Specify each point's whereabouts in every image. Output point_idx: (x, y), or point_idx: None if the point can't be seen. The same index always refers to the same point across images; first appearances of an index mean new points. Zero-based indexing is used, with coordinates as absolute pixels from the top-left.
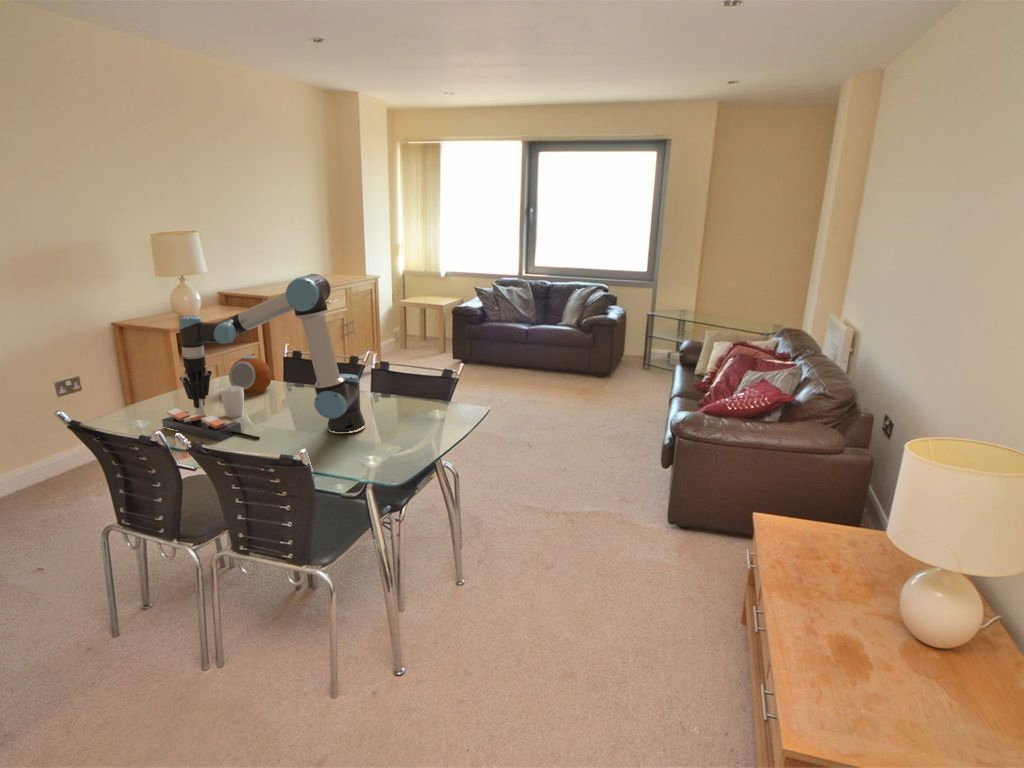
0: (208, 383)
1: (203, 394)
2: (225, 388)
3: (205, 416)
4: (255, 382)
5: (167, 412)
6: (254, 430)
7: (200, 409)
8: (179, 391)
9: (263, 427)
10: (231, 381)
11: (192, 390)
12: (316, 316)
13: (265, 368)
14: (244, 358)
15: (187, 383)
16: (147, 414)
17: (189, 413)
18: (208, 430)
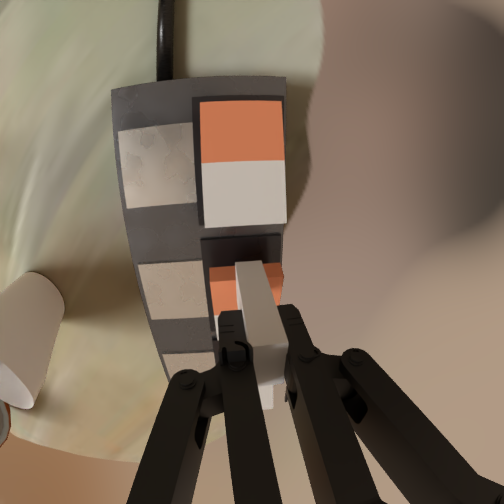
0: (147, 489)
1: (235, 386)
2: (16, 401)
3: (212, 269)
4: None
5: (272, 403)
6: (83, 70)
7: (270, 288)
8: (100, 458)
9: (42, 77)
10: (6, 422)
11: (397, 425)
12: None
13: None
14: None
15: (474, 477)
16: (212, 438)
17: None
18: (284, 150)
